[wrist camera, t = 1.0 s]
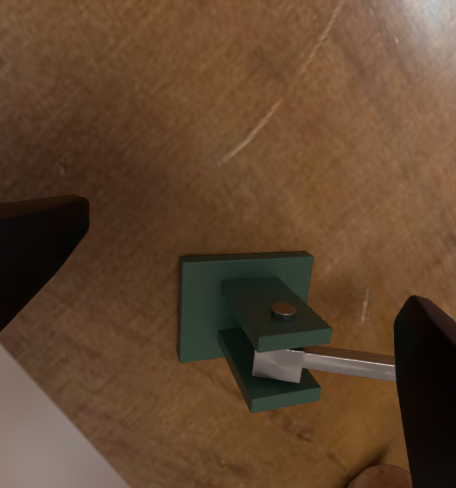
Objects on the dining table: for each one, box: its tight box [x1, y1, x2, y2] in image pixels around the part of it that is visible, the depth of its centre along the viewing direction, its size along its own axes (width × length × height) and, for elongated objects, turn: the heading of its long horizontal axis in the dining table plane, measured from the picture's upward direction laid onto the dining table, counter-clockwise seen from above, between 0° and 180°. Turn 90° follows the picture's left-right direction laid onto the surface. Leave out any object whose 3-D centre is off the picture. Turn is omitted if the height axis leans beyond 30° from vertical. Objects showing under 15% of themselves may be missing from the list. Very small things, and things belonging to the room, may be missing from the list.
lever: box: [252, 345, 396, 383], centre depth 20 cm, size 13×3×3 cm, turn 86°
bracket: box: [177, 252, 332, 413], centre depth 23 cm, size 10×8×8 cm
